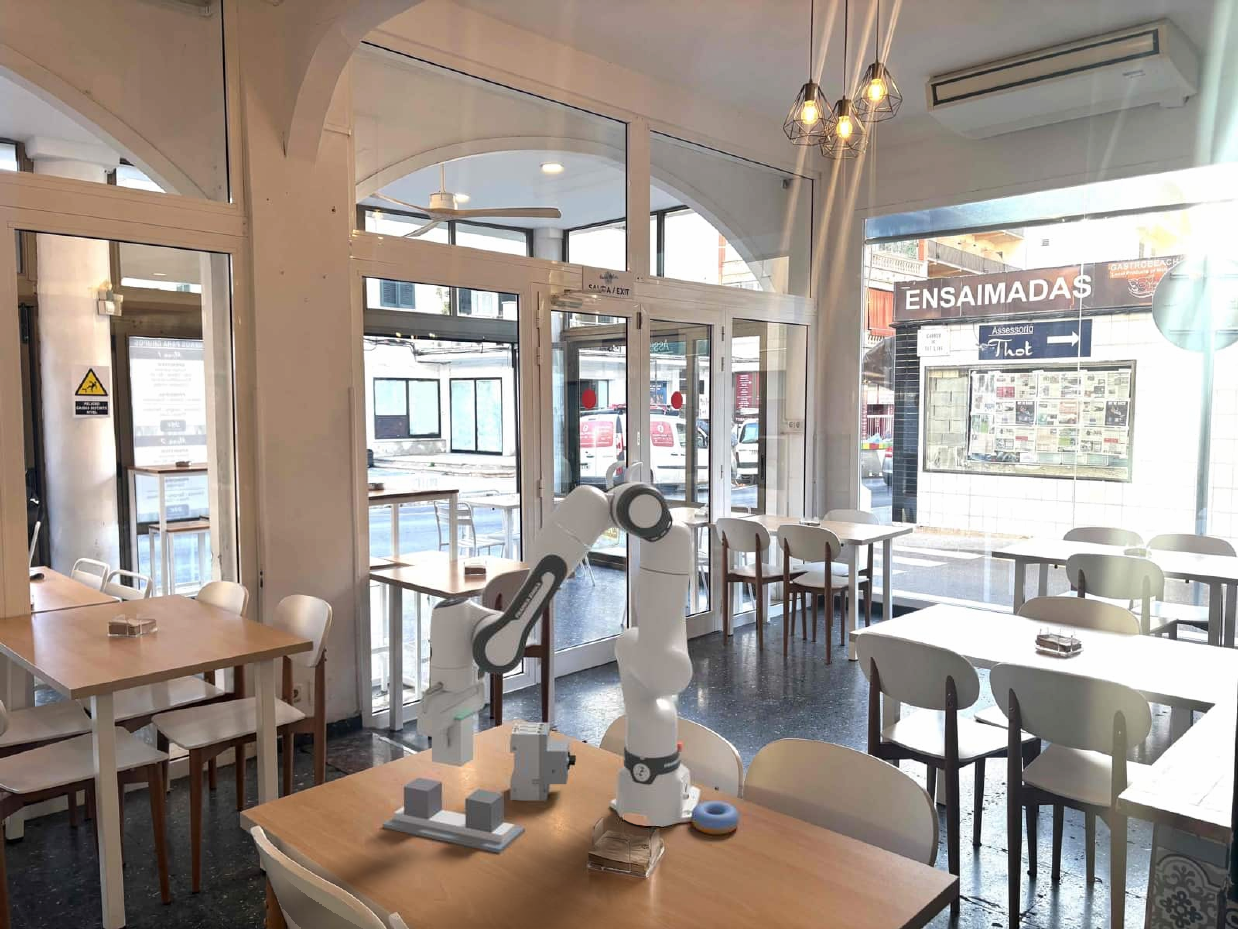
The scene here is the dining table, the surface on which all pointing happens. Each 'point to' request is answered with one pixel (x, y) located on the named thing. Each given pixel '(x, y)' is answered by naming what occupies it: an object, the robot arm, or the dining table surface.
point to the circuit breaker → (537, 761)
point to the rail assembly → (454, 817)
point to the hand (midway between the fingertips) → (452, 743)
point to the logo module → (456, 742)
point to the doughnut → (715, 817)
